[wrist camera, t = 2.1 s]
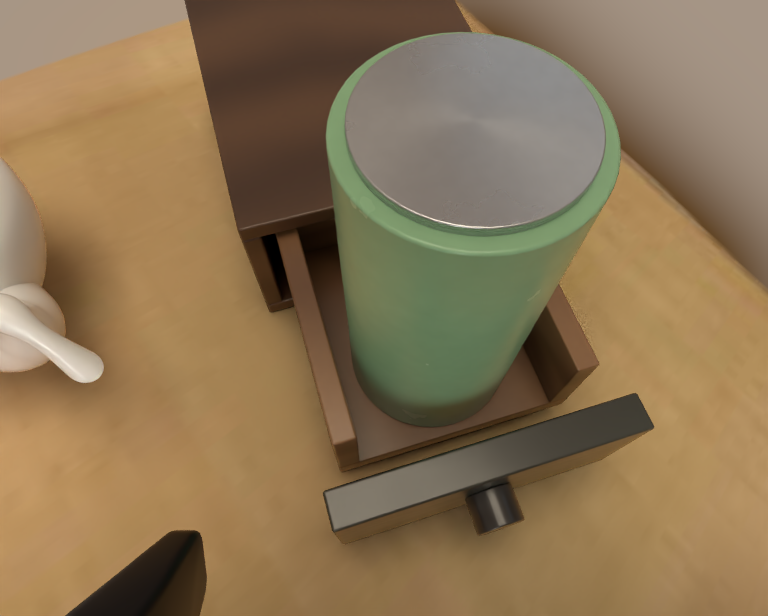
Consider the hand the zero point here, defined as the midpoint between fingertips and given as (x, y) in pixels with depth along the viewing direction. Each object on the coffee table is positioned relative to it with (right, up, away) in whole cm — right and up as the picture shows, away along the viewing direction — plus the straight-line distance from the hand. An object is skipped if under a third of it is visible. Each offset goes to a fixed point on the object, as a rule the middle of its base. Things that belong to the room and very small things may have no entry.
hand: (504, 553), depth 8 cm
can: (0, +2, +14) cm, 14 cm away
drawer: (0, +1, +15) cm, 15 cm away
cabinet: (-3, +11, +20) cm, 23 cm away
